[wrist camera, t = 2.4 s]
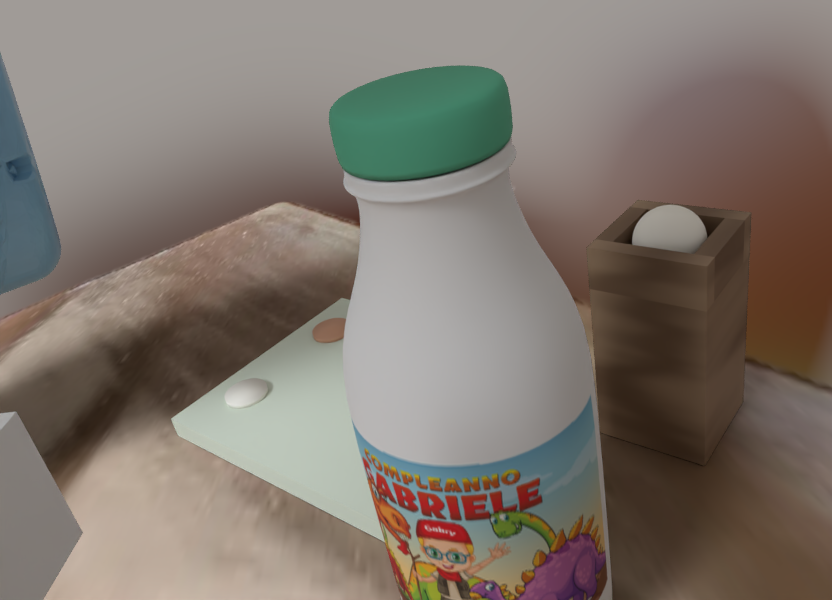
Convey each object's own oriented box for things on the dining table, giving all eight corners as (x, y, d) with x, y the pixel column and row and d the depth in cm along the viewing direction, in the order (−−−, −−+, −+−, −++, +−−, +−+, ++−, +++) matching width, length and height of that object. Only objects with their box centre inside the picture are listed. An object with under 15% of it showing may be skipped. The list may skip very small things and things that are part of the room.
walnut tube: (600, 432, 36) (586, 247, 31) (644, 376, 39) (637, 199, 34) (704, 465, 33) (706, 266, 28) (742, 401, 36) (751, 212, 31)
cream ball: (621, 282, 32) (618, 218, 31) (650, 251, 34) (648, 190, 33) (690, 294, 30) (691, 228, 29) (717, 261, 32) (719, 197, 31)
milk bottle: (421, 531, 33) (304, 70, 23) (603, 524, 31) (562, 28, 21) (397, 704, 26) (219, 162, 16) (626, 705, 25) (583, 110, 15)
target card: (177, 435, 42) (169, 414, 41) (345, 312, 51) (340, 293, 50) (391, 545, 32) (385, 520, 32) (554, 370, 41) (551, 347, 40)
